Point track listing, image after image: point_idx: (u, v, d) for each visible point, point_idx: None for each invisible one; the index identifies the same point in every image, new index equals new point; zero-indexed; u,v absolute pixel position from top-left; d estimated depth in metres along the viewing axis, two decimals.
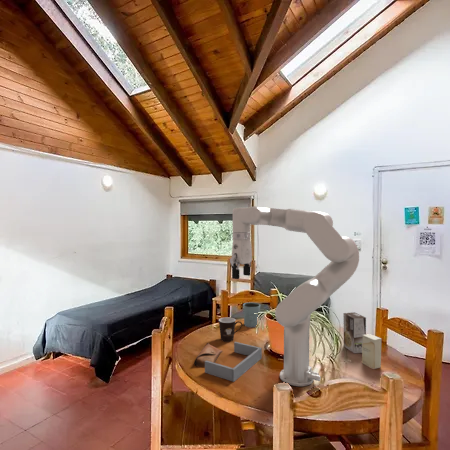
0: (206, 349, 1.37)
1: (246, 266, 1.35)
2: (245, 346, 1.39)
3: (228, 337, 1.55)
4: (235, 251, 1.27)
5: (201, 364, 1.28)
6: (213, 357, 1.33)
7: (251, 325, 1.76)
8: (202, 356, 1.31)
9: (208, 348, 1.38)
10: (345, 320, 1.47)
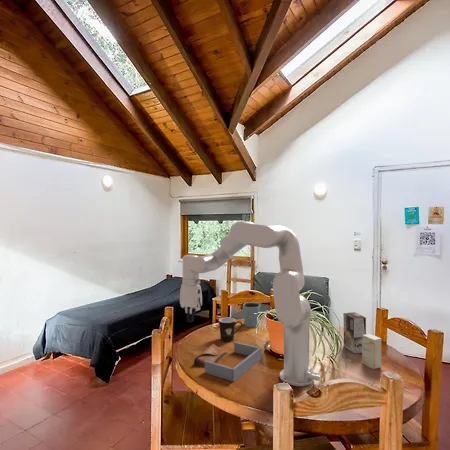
0: (209, 349, 1.37)
1: (189, 312, 1.42)
2: (245, 346, 1.39)
3: (228, 337, 1.55)
4: (199, 296, 1.39)
5: (200, 364, 1.28)
6: (214, 358, 1.32)
7: (251, 325, 1.76)
8: (203, 356, 1.31)
9: (211, 348, 1.38)
10: (345, 320, 1.47)
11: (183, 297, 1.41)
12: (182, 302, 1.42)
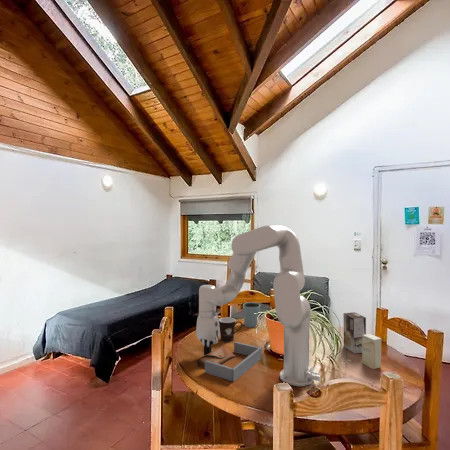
0: (215, 351, 1.35)
1: (206, 345, 1.37)
2: (245, 346, 1.39)
3: (228, 337, 1.55)
4: (216, 328, 1.34)
5: (202, 365, 1.28)
6: (218, 360, 1.30)
7: (251, 325, 1.76)
8: (206, 357, 1.30)
9: (218, 351, 1.36)
10: (345, 320, 1.47)
11: (200, 329, 1.36)
12: (199, 334, 1.37)
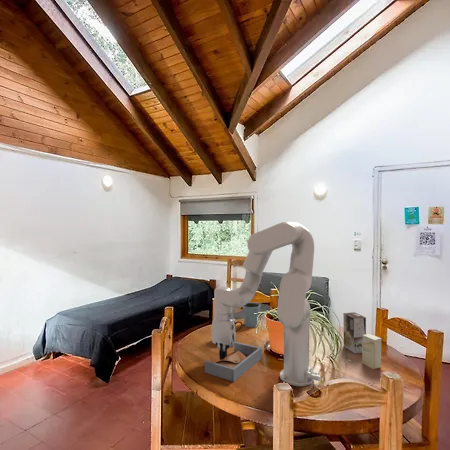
0: (231, 356, 1.30)
1: (222, 349, 1.32)
2: (245, 346, 1.39)
3: None
4: (232, 332, 1.30)
5: None
6: (234, 366, 1.25)
7: (251, 325, 1.76)
8: (222, 363, 1.25)
9: (234, 355, 1.30)
10: (345, 320, 1.47)
11: (215, 333, 1.32)
12: (214, 338, 1.32)
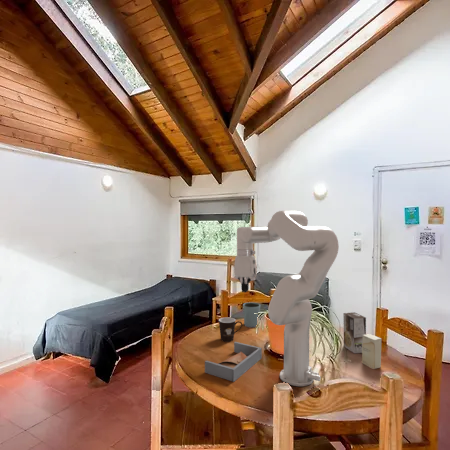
0: (233, 357, 1.29)
1: (244, 283, 1.46)
2: (245, 346, 1.39)
3: (228, 337, 1.55)
4: (254, 266, 1.43)
5: None
6: None
7: (251, 325, 1.76)
8: (224, 364, 1.24)
9: (236, 357, 1.29)
10: (345, 320, 1.47)
11: (238, 268, 1.45)
12: (237, 273, 1.46)
